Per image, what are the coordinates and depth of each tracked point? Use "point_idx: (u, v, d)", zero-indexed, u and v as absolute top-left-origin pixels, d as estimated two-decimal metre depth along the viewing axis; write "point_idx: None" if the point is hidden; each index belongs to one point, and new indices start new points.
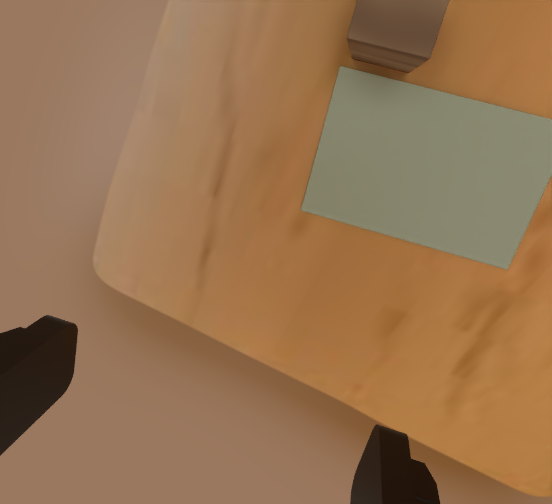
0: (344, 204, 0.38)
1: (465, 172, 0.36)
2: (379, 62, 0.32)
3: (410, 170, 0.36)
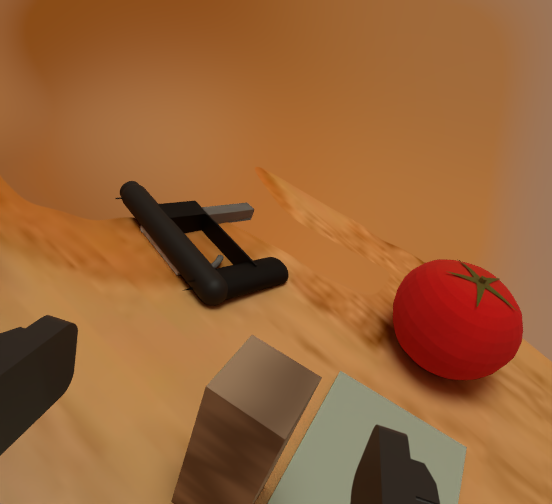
0: None
1: None
2: (257, 497, 0.27)
3: None
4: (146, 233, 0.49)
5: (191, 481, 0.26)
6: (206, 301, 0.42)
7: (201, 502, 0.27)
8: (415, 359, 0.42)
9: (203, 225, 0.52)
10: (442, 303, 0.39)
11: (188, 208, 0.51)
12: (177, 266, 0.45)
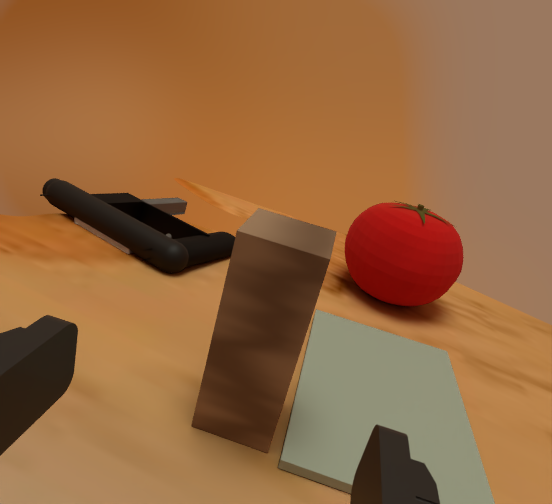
0: (462, 475, 0.26)
1: (374, 366, 0.34)
2: None
3: (388, 404, 0.30)
4: (83, 223, 0.45)
5: (218, 379, 0.24)
6: (168, 267, 0.40)
7: (231, 405, 0.24)
8: (379, 292, 0.44)
9: (141, 215, 0.50)
10: (394, 228, 0.42)
11: (123, 197, 0.49)
12: (128, 242, 0.42)
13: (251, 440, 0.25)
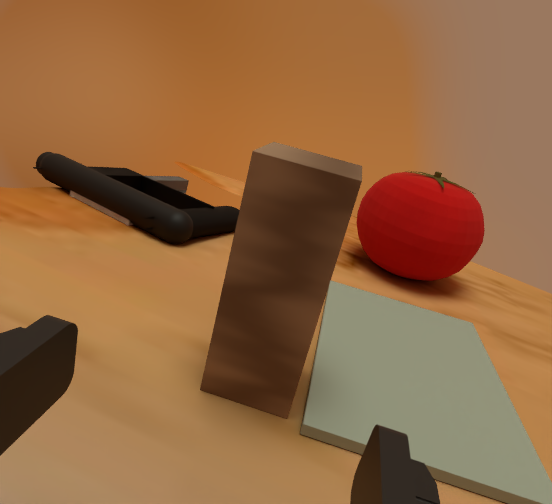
0: (506, 443, 0.23)
1: (397, 334, 0.31)
2: None
3: (416, 371, 0.27)
4: (79, 195, 0.43)
5: (231, 333, 0.21)
6: (172, 236, 0.37)
7: (245, 363, 0.21)
8: (395, 264, 0.41)
9: (140, 190, 0.48)
10: (412, 194, 0.40)
11: (122, 171, 0.46)
12: (128, 212, 0.39)
13: (268, 404, 0.22)
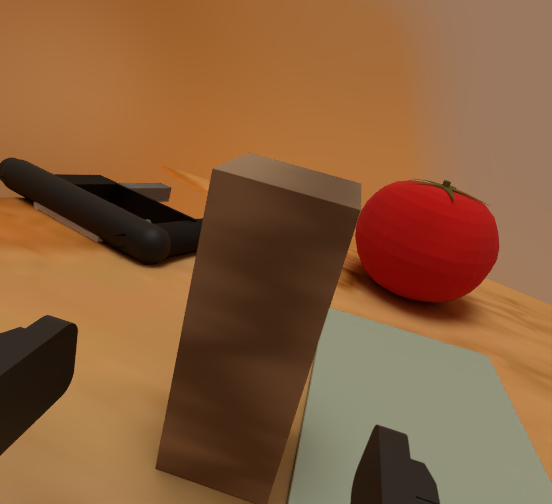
0: None
1: (403, 376, 0.27)
2: None
3: (427, 427, 0.23)
4: (43, 207, 0.38)
5: (191, 401, 0.16)
6: (145, 256, 0.33)
7: (211, 438, 0.16)
8: (399, 285, 0.37)
9: (116, 200, 0.43)
10: (418, 206, 0.35)
11: (94, 179, 0.42)
12: (96, 227, 0.34)
13: (242, 488, 0.17)
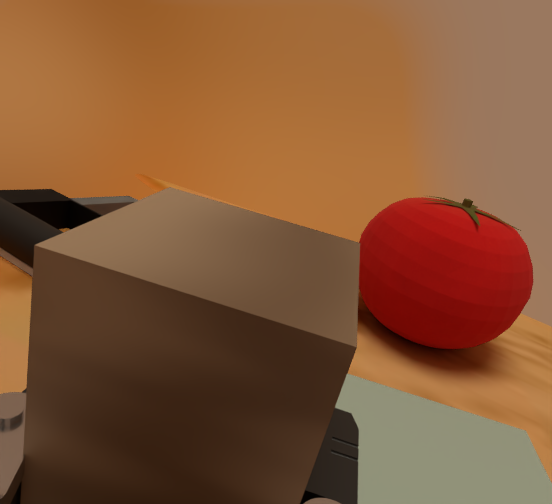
0: None
1: (418, 477, 0.19)
2: None
3: None
4: None
5: None
6: None
7: None
8: (409, 330, 0.29)
9: (69, 219, 0.36)
10: (433, 233, 0.28)
11: (42, 195, 0.35)
12: (33, 260, 0.28)
13: None
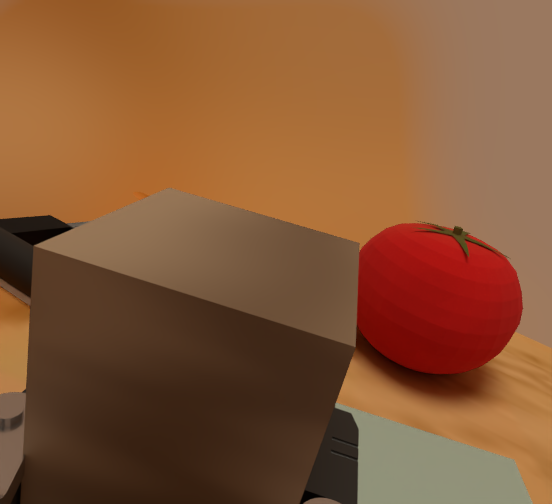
0: None
1: None
2: None
3: None
4: None
5: None
6: None
7: None
8: (401, 356, 0.30)
9: None
10: (424, 264, 0.28)
11: (41, 222, 0.35)
12: None
13: None
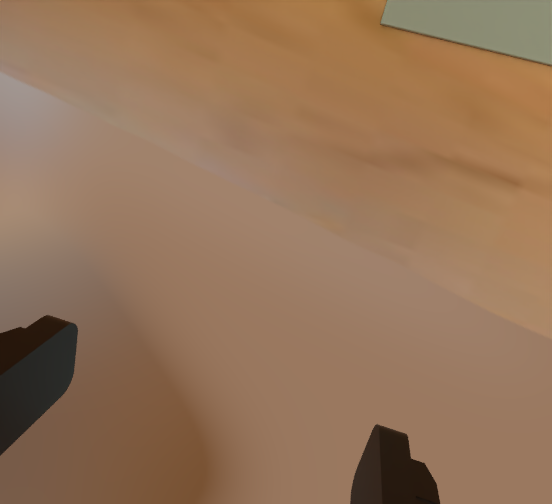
0: None
1: None
2: None
3: None
4: None
5: None
6: None
7: None
8: None
9: None
10: None
11: None
12: None
13: None
